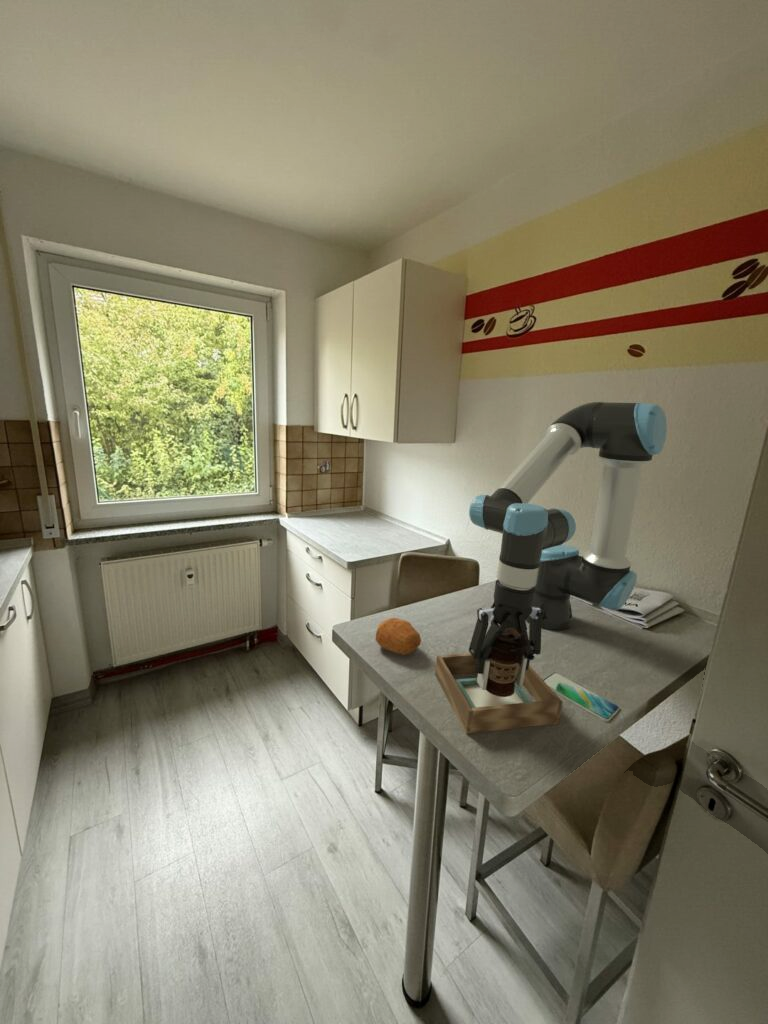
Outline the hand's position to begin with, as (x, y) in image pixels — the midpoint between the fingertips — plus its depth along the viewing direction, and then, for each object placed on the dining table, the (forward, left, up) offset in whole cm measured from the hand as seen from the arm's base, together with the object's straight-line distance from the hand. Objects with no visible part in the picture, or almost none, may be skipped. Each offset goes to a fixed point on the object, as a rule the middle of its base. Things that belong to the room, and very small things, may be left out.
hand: (499, 683), depth 85 cm
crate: (0, -2, -5) cm, 5 cm away
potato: (+16, -22, -5) cm, 28 cm away
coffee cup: (0, 0, -1) cm, 1 cm away
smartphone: (-20, 0, -5) cm, 21 cm away
